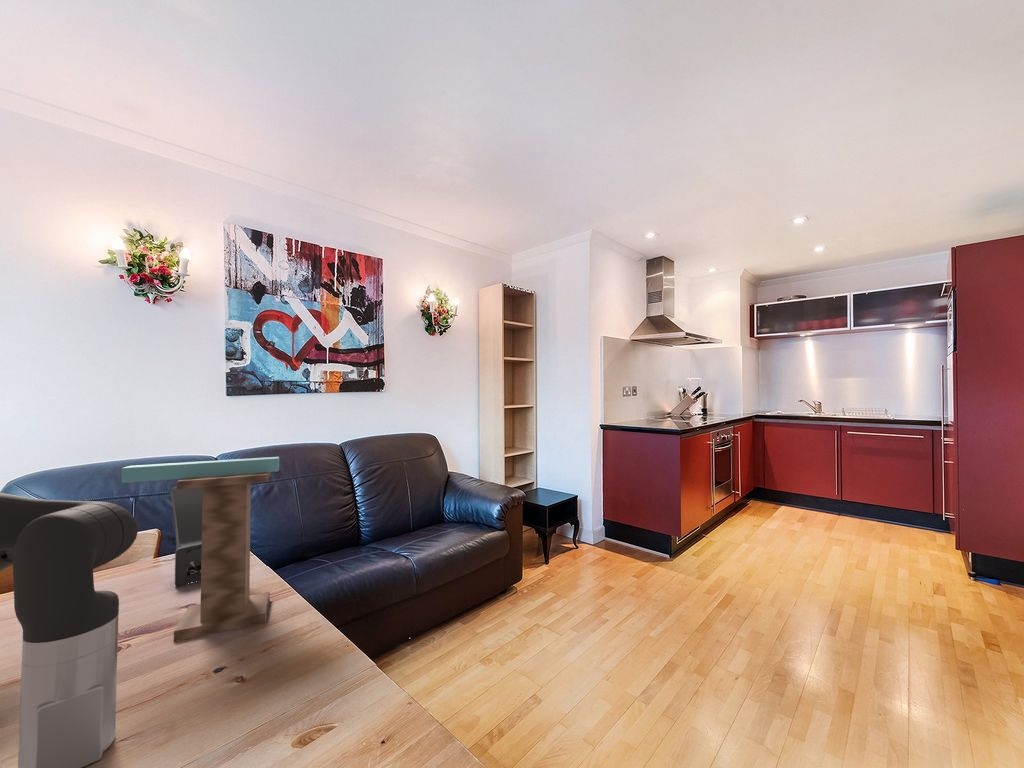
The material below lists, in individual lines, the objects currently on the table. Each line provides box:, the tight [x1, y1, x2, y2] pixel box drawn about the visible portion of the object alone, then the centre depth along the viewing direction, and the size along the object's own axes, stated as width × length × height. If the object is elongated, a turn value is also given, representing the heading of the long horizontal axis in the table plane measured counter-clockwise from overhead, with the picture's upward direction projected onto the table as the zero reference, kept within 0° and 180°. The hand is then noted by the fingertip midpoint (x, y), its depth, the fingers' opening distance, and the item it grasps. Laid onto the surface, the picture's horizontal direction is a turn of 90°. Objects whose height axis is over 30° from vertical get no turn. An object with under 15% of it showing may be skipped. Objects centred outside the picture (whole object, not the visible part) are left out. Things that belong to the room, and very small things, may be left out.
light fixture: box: [170, 486, 203, 588], centre depth 122 cm, size 11×17×24 cm, turn 48°
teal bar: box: [120, 456, 280, 484], centre depth 94 cm, size 28×4×3 cm, turn 116°
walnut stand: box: [173, 472, 272, 642], centre depth 95 cm, size 16×12×32 cm
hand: (79, 507), depth 85 cm, fingers open, 8 cm apart
